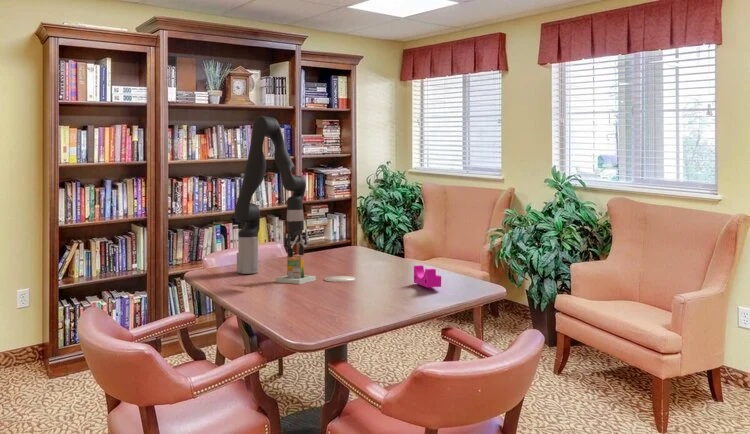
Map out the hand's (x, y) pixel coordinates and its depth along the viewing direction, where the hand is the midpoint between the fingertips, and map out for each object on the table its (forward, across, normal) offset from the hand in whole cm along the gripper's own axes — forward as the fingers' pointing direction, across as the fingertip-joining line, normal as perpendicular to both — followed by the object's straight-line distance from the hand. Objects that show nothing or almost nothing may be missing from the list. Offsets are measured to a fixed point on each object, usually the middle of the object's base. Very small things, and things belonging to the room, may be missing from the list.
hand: (296, 256), depth 261 cm
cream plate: (+12, -12, +16) cm, 23 cm away
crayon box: (+12, 0, 0) cm, 12 cm away
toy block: (+13, -17, +56) cm, 60 cm away
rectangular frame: (+11, 0, 0) cm, 11 cm away
